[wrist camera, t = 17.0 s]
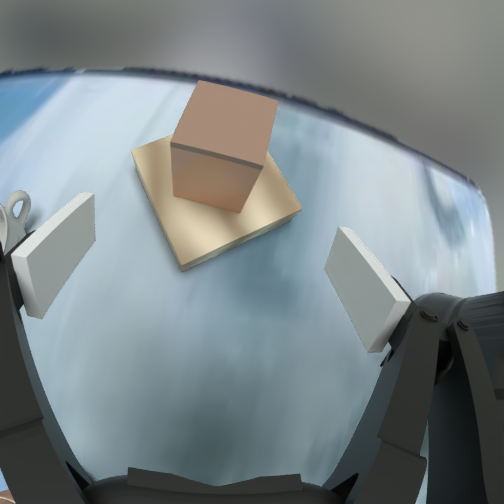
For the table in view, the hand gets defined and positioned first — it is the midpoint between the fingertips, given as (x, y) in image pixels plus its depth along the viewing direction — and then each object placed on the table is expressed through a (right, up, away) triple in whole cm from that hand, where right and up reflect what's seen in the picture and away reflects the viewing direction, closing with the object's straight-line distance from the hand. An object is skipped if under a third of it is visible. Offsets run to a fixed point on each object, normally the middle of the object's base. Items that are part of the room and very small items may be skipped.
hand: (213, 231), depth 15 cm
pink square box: (-2, +8, +20) cm, 21 cm away
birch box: (-4, +7, +24) cm, 25 cm away
